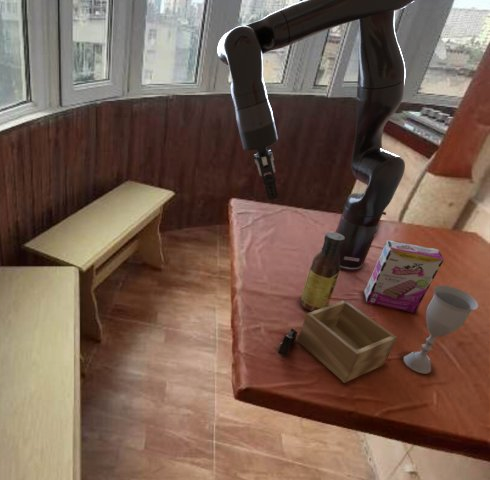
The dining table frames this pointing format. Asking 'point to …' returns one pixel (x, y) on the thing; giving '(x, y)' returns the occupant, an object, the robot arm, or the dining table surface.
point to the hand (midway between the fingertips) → (271, 193)
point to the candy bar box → (402, 275)
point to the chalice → (441, 322)
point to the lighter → (287, 342)
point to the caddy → (345, 340)
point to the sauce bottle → (323, 273)
